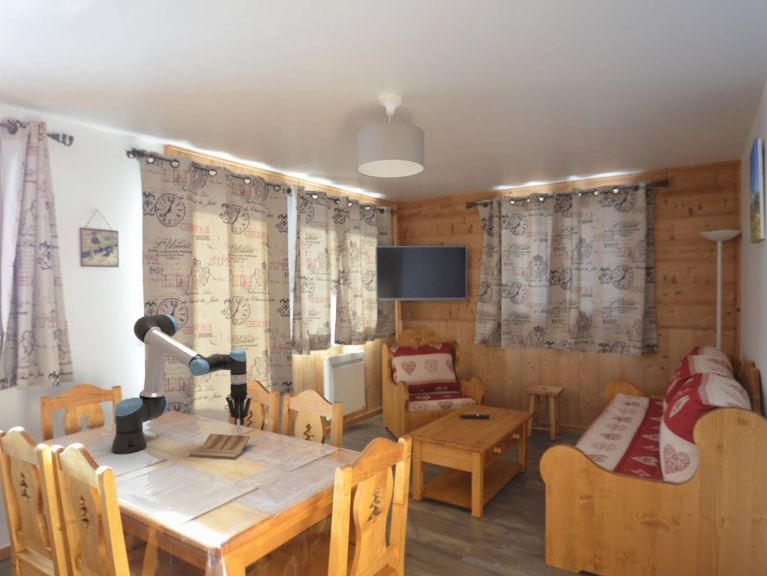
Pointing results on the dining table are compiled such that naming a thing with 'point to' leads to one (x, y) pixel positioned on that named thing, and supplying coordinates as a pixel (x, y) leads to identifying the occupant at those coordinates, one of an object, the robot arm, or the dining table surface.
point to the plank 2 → (236, 442)
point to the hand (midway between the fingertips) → (239, 431)
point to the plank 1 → (215, 441)
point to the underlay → (220, 453)
